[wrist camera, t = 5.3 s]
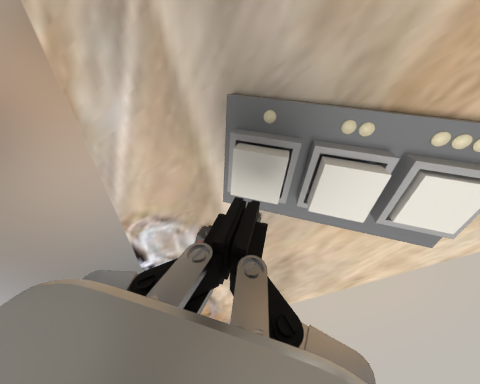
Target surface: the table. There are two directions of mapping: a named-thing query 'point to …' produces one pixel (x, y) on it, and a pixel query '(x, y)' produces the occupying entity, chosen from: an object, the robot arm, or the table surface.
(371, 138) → the button panel
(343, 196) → the button
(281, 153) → the button
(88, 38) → the table surface
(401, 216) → the button
